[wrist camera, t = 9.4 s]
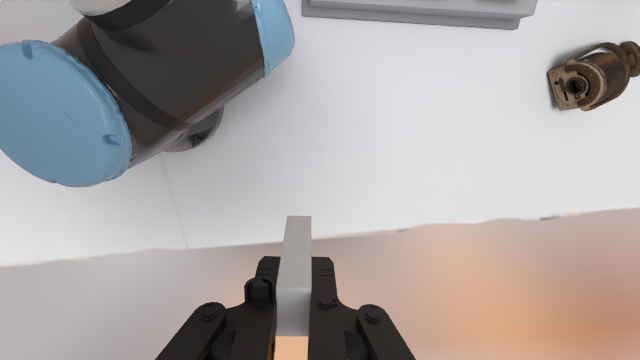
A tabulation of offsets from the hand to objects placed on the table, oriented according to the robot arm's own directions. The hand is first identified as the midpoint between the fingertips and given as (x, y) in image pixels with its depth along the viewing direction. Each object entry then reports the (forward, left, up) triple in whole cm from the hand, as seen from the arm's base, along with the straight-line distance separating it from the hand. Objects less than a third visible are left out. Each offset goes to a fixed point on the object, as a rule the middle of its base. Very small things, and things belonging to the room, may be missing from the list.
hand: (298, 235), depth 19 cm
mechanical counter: (+42, +11, -30) cm, 53 cm away
